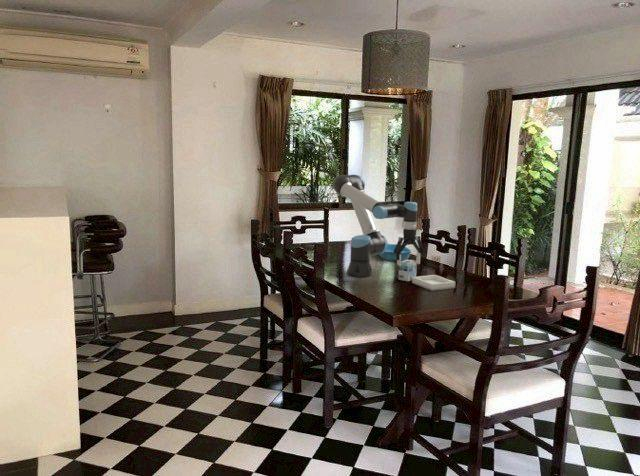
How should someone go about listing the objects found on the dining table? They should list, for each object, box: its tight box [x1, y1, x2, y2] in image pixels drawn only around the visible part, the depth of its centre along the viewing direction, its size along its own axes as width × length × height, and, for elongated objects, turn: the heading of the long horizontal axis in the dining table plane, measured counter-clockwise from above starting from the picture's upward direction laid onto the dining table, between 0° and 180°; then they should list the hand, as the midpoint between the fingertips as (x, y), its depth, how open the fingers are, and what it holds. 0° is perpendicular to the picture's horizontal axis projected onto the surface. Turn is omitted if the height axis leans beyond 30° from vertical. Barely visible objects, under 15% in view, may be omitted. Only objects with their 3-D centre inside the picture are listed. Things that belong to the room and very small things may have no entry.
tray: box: [411, 274, 456, 292], centre depth 284 cm, size 16×18×4 cm
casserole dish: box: [378, 243, 412, 261], centre depth 363 cm, size 37×22×7 cm, turn 7°
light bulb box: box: [398, 258, 418, 282], centre depth 297 cm, size 11×7×11 cm, turn 143°
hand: (408, 264), depth 296 cm, fingers open, 13 cm apart
